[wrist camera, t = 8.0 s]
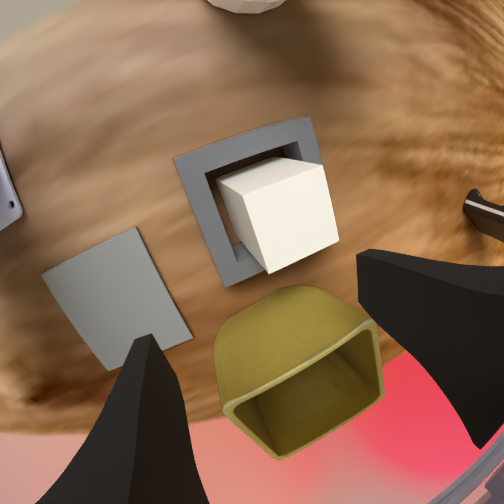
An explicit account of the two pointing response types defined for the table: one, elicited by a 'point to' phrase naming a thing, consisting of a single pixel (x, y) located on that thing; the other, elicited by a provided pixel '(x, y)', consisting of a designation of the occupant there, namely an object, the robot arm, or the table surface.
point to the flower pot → (297, 368)
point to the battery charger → (485, 215)
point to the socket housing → (228, 151)
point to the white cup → (246, 5)
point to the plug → (279, 210)
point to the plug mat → (116, 298)
